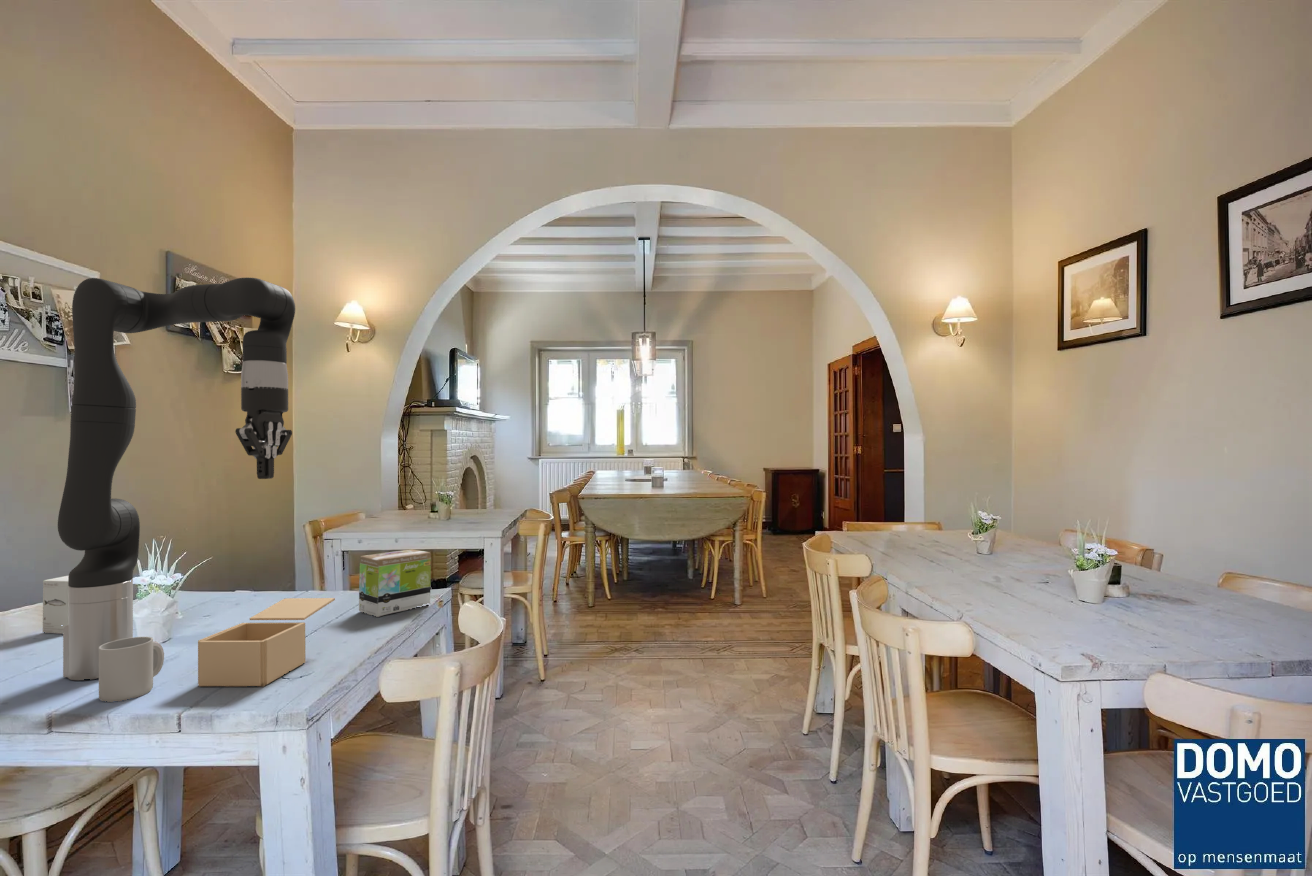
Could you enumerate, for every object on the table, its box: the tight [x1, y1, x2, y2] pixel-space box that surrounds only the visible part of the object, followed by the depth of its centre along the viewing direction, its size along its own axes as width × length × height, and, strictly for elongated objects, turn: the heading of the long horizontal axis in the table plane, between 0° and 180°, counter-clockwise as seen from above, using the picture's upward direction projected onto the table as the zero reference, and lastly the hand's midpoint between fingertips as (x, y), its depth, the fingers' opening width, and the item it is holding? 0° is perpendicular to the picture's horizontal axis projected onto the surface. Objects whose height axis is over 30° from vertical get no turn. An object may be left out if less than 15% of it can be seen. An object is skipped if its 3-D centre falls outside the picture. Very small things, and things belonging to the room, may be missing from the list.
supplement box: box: [42, 575, 69, 634], centre depth 147 cm, size 7×7×13 cm
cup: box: [98, 636, 165, 703], centre depth 108 cm, size 7×10×9 cm
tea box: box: [358, 548, 432, 618], centre depth 162 cm, size 15×10×15 cm
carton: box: [197, 621, 306, 688], centre depth 115 cm, size 13×12×8 cm
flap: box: [249, 597, 336, 621], centre depth 127 cm, size 11×1×11 cm
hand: (265, 478), depth 115 cm, fingers closed
